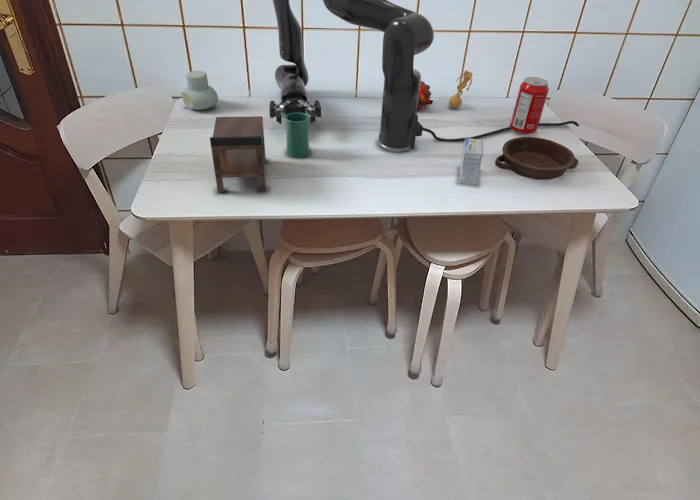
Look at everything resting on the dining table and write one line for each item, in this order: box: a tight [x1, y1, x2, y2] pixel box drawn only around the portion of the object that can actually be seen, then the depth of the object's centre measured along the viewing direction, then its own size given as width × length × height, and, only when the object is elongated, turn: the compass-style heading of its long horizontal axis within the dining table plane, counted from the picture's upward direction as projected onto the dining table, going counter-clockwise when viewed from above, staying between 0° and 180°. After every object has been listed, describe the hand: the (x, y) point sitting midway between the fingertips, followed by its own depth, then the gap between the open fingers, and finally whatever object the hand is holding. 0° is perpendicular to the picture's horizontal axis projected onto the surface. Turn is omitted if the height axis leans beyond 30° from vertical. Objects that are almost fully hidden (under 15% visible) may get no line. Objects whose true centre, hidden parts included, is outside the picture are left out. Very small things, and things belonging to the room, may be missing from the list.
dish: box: [494, 136, 579, 181], centre depth 130 cm, size 18×22×5 cm
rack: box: [209, 115, 267, 194], centre depth 118 cm, size 11×15×14 cm
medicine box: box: [458, 137, 484, 186], centre depth 124 cm, size 8×4×9 cm, turn 168°
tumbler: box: [285, 112, 310, 159], centre depth 130 cm, size 6×6×10 cm
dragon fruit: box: [417, 80, 434, 110], centre depth 157 cm, size 8×8×12 cm
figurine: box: [448, 69, 473, 110], centre depth 156 cm, size 8×6×12 cm
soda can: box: [509, 76, 550, 136], centre depth 144 cm, size 8×8×15 cm
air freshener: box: [181, 70, 219, 111], centre depth 150 cm, size 11×8×10 cm
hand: (296, 120), depth 134 cm, fingers open, 8 cm apart
